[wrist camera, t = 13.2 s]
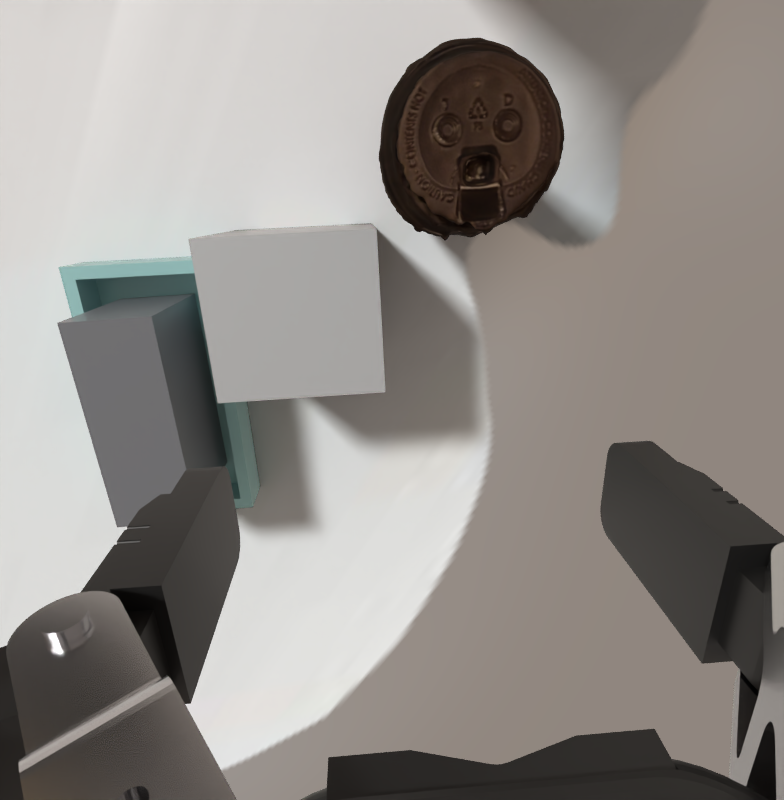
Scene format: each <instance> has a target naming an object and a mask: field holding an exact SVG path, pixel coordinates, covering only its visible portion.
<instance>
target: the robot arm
mask: <svg viewBox="0 0 784 800" xmlns="http://www.w3.org/2000/svg"><path fill="white" fill-rule="evenodd" d="M601 520H602V525H603V528H604V531H605V533H606V535H607V537H608V538H609V539H610V541H611V542H612V543H613V545H614V546H615V547H616V549H617V550H618V552H619V553H620V554H621V555H622V557H623V558H624V559H625V561H626V562H627V564H628V565H629V566H630V568H631V569H632V570H633V572H634V573H635V574H636V576H637V577H638V578H639V580H640V581H641V582H642V584H643V585H644V586H645V588H646V589H647V590H648V592H649V593H650V594H651V596H652V597H653V598H654V600H655V601H656V602H657V604H658V605H659V606H660V608H661V609H662V610H663V612H664V613H665V615H666V616H667V617H668V618H669V620H670V621H671V622H672V624H673V625H674V627H675V628H676V629H677V631H678V632H679V633H680V635H681V636H682V637H683V639H684V640H685V641H686V643H687V644H688V645H689V647H690V648H691V649H692V650H693V652H694V653H695V655H696V656H697V657H698V659H699V660H700V661H701V663H715V662H725V661H726V662H727V661H733V662H734V663H735V664H736V665H737V667H738V668H739V670H738V673H737V677H736V680H735V685H734V700H733V718H732V735H731V753H730V771H729V778H728V777H725V776H723V775H721V774H718V773H716V772H713V771H711V770H708V769H706V768H703V767H700V766H697V765H693V764H690V763H686V762H683V761H679V760H674V759H671V757H670V756H669V754H668V752H667V750H666V749H665V747H664V745H663V743H662V741H661V740H660V738H659V736H658V734H657V733H656V731H655V729H647V730H636V731H624V732H613V733H601V734H590V735H580V736H579V735H578V736H574V737H572V738H569V739H567V740H564V741H562V742H559V743H556V744H554V745H551V746H549V747H546V748H544V749H541V750H539V751H536V752H534V753H531V754H528V755H526V756H523V757H521V758H518V759H516V760H513V761H511V762H508V763H505V764H499V765H494V764H486V763H480V762H475V761H468V760H463V759H458V758H451V757H446V756H440V755H435V754H428V753H423V752H418V751H412V750H408V751H397V752H384V753H373V754H363V755H351V756H340V757H329V758H328V778H327V788H325V789H323V790H320V791H317V792H315V793H312V794H310V795H309V796H307V797H305V798H303V799H301V800H784V536H783V535H782V534H780V533H779V532H778V531H777V530H775V529H774V528H773V527H771V526H770V525H769V524H768V523H766V522H765V521H764V520H763V519H761V518H760V517H759V516H757V515H756V514H755V513H754V512H752V511H751V510H750V509H749V508H747V507H746V506H745V505H743V504H739V503H738V500H737V499H736V498H735V497H733V496H732V495H731V494H729V493H728V492H727V491H723V488H722V487H721V486H719V485H718V484H717V483H715V482H714V481H713V480H712V479H710V478H709V477H708V476H707V475H705V474H704V473H701V472H699V471H697V470H694V469H693V468H691V467H688V466H686V465H684V464H682V463H680V462H677V461H676V460H674V459H673V458H672V457H671V456H670V455H669V454H667V453H666V452H665V451H663V450H662V449H661V448H660V447H659V446H657V445H656V444H655V443H653V442H651V441H641V442H624V443H614V444H612V445H611V446H610V448H609V450H608V455H607V462H606V469H605V478H604V485H603V492H602V500H601ZM239 552H240V532H239V526H238V520H237V514H236V508H235V502H234V497H233V491H232V485H231V479H230V475H229V472H228V469H227V468H226V467H225V466H222V467H205V468H189V469H187V470H186V471H185V472H184V473H183V475H182V477H181V478H180V480H179V481H178V483H177V484H176V486H175V488H174V489H173V491H172V492H171V494H160V495H159V496H157V497H156V498H155V499H153V500H152V501H150V502H149V503H148V504H146V505H145V506H144V507H142V508H141V509H139V511H138V512H137V514H136V515H135V516H134V518H133V519H132V521H131V522H130V523H129V525H128V526H127V530H125V531H124V532H123V533H122V535H121V536H120V538H119V539H118V540H117V545H114V546H113V547H112V549H111V550H110V552H109V553H108V554H107V556H106V557H105V559H104V560H103V562H102V563H101V564H100V566H99V567H98V569H97V570H96V571H95V573H94V574H93V576H92V577H91V578H90V580H89V581H88V583H87V584H86V586H85V587H84V588H83V590H82V591H81V593H77V594H73V595H70V596H66V597H64V598H61V599H59V600H56V601H54V602H52V603H50V604H48V605H46V606H45V607H43V608H41V609H39V610H38V611H37V612H35V613H34V614H32V615H31V616H30V617H28V618H27V619H26V620H25V621H24V622H23V623H22V624H21V625H20V626H19V627H18V628H17V629H16V630H15V632H14V633H13V634H12V636H11V638H10V639H9V641H8V644H7V646H4V647H1V648H0V800H237V799H236V797H235V795H234V793H233V792H232V790H231V788H230V786H229V784H228V782H227V781H226V779H225V777H224V775H223V773H222V771H221V770H220V768H219V766H218V764H217V762H216V760H215V758H214V757H213V755H212V753H211V751H210V749H209V747H208V746H207V744H206V742H205V740H204V738H203V736H202V735H201V733H200V731H199V729H198V727H197V725H196V723H195V722H194V720H193V718H192V716H191V714H190V712H189V711H188V709H187V707H186V705H185V704H189V703H191V701H192V698H193V695H194V692H195V689H196V686H197V683H198V680H199V677H200V674H201V671H202V668H203V665H204V662H205V659H206V656H207V653H208V650H209V647H210V644H211V641H212V638H213V635H214V632H215V629H216V626H217V623H218V620H219V617H220V614H221V611H222V608H223V605H224V602H225V599H226V596H227V593H228V590H229V587H230V584H231V581H232V578H233V575H234V572H235V569H236V566H237V562H238V558H239Z"/></svg>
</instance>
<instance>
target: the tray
mask: <svg viewBox="0 0 784 800" xmlns="http://www.w3.org/2000/svg"><path fill="white" fill-rule="evenodd" d="M59 270H60V274H61V278H62V281H63V285H64V289H65V293H66V296H67V300H68V304H69V308H70V311H71V315H72V317H75V316H77V315H80V314H82V313H85V312H88V311H90V310H93V309H95V308H98V307H101V306H103V305H106V304H108V303H111V302H114V301H116V300H119V299H124V298H138V297H152V296H167V295H181V294H195V297H196V302H197V307H198V313H199V318H200V323H201V328H202V333H203V338H204V344H205V349H206V354H207V359H208V364H209V369H210V374H211V380H212V385H213V390H214V395H215V400H216V405H217V411H218V416H219V421H220V426H221V431H222V436H223V442H224V447H225V452H226V457H227V464H226V466H225V467H226V468H227V469H228V472H229V475H230V479H231V485H232V491H233V497H234V502H235V508H249V507H253V505H254V503H255V500H256V497H257V494H258V491H259V488H260V483H259V476H258V470H257V463H256V457H255V451H254V444H253V438H252V431H251V425H250V419H249V412H248V406H247V401H245V402H230V403H218V402H217V396H216V391H215V385H214V380H213V374H212V368H211V363H210V357H209V352H208V346H207V340H206V335H205V329H204V323H203V318H202V312H201V307H200V301H199V295H198V290H197V284H196V278H195V273H194V267H193V262H192V257H176V258H157V259H138V260H120V261H101V262H83V263H78V264H73V265H68V266H63V267H59Z"/></svg>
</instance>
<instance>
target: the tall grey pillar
mask: <svg viewBox="0 0 784 800" xmlns="http://www.w3.org/2000/svg"><path fill="white" fill-rule="evenodd" d="M58 327H59V330H60V334H61V337H62V340H63V344H64V347H65V351H66V354H67V358H68V361H69V364H70V368H71V371H72V375H73V378H74V381H75V385H76V388H77V392H78V395H79V398H80V402H81V405H82V409H83V412H84V416H85V419H86V422H87V426H88V429H89V433H90V436H91V439H92V443H93V446H94V450H95V453H96V456H97V460H98V463H99V467H100V470H101V474H102V477H103V480H104V484H105V487H106V491H107V494H108V497H109V501H110V504H111V508H112V511H113V514H114V518H115V521H116V525H117V527H125V526H128V525H129V523H130V522H131V521H132V519H133V518H134V516H135V515H136V514H137V512H138V511H139V509H141V508H142V507H144V506H145V505H146V504H148V503H149V502H150V501H152V500H153V499H155V498H156V497H157V496H159V495H160V494H171V492H172V491H173V489H174V488H175V486H176V484H177V483H178V481H179V480H180V478H181V477H182V475H183V473H184V472H185V471H186V470H187V469H189V468H205V467H222V466H226V464H227V457H226V452H225V447H224V442H223V436H222V431H221V426H220V421H219V416H218V411H217V405H216V400H215V395H214V390H213V385H212V380H211V374H210V369H209V364H208V359H207V354H206V349H205V344H204V338H203V333H202V328H201V323H200V318H199V313H198V307H197V302H196V297H195V294H181V295H167V296H152V297H138V298H124V299H119V300H116V301H114V302H111V303H108V304H106V305H103V306H101V307H98V308H95V309H93V310H90V311H88V312H85V313H82V314H80V315H77V316H75V317H72V318H69V319H67V320H64V321H62V322H59V323H58Z"/></svg>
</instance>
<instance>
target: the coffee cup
mask: <svg viewBox="0 0 784 800" xmlns="http://www.w3.org/2000/svg"><path fill="white" fill-rule="evenodd" d="M563 141H564V128H563V122H562V118H561V110H560V106H559V103H558V100H557V98H556V96H555V94H554V92H553V90H552V88H551V86H550V84H549V82H548V79H547V78H546V77H545V76H544V74H543V73H542V72H541V71H539V70H538V69H537V68H536V67H535V66H534V65H533V64H532V63H531V62H530V61H529V60H527V59H526V58H524V57H522V56H520V55H519V54H517V53H516V52H515V51H513V50H512V49H511V48H509V47H507V46H505V45H502V44H499V43H496V42H493V41H488V40H485V39H482V38H469V39H455V40H450V41H447V42H444V43H442V44H440V45H439V46H437V47H436V48H434V49H433V50H432V51H430V52H429V53H428V54H426V55H425V56H424V57H423V58H420V59H418V60H417V61H415V62H414V63H412V64H410V65H409V66H408V67H407V69H406V72H405V74H404V75H403V76H402V77H401V79H400V81H399V82H398V83H397V85H396V86H395V88H394V90H393V91H392V93H391V95H390V97H389V100H388V103H387V106H386V110H385V114H384V118H383V123H382V130H381V145H380V151H379V161H380V168H381V173H382V180H383V183H384V186H385V192H386V193H387V195H388V198H389V199H390V201H391V203H392V204H393V206H394V207H395V208H396V211H397V212H398V213H399V214H400V215H401V216H402V218H403V219H404V220H405V221H406V222H408V223H410V224H412V225H413V226H414V229H415V230H416V231H417V232H421V231H424V232H426V233H428V234H433V235H435V236H441V237H442V238H443V239H444V240H446V239H447V238H448V237H449V235H462V236H467V237H474V236H476V235H478V234H480V233H482V232H483V233H484V234H485V235H486V234H487V233H488V232H490V231H491V230H492V229H493V228H494V227H496V226H498V225H500V224H502V223H505V222H507V221H509V220H511V219H513V218H516V217H521V218H525V217H527V216H528V214H529V213H530V212H531V211H532V210H533V207H534V206H535V204H536V203H537V202H538V200H539V199H540V197H541V196H542V195H543V193H544V192H545V191H547V190H548V188H549V185H550V183H551V181H552V179H553V177H554V176H555V174H556V172H557V170H558V167H559V164H560V159H561V154H562V150H563Z"/></svg>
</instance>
